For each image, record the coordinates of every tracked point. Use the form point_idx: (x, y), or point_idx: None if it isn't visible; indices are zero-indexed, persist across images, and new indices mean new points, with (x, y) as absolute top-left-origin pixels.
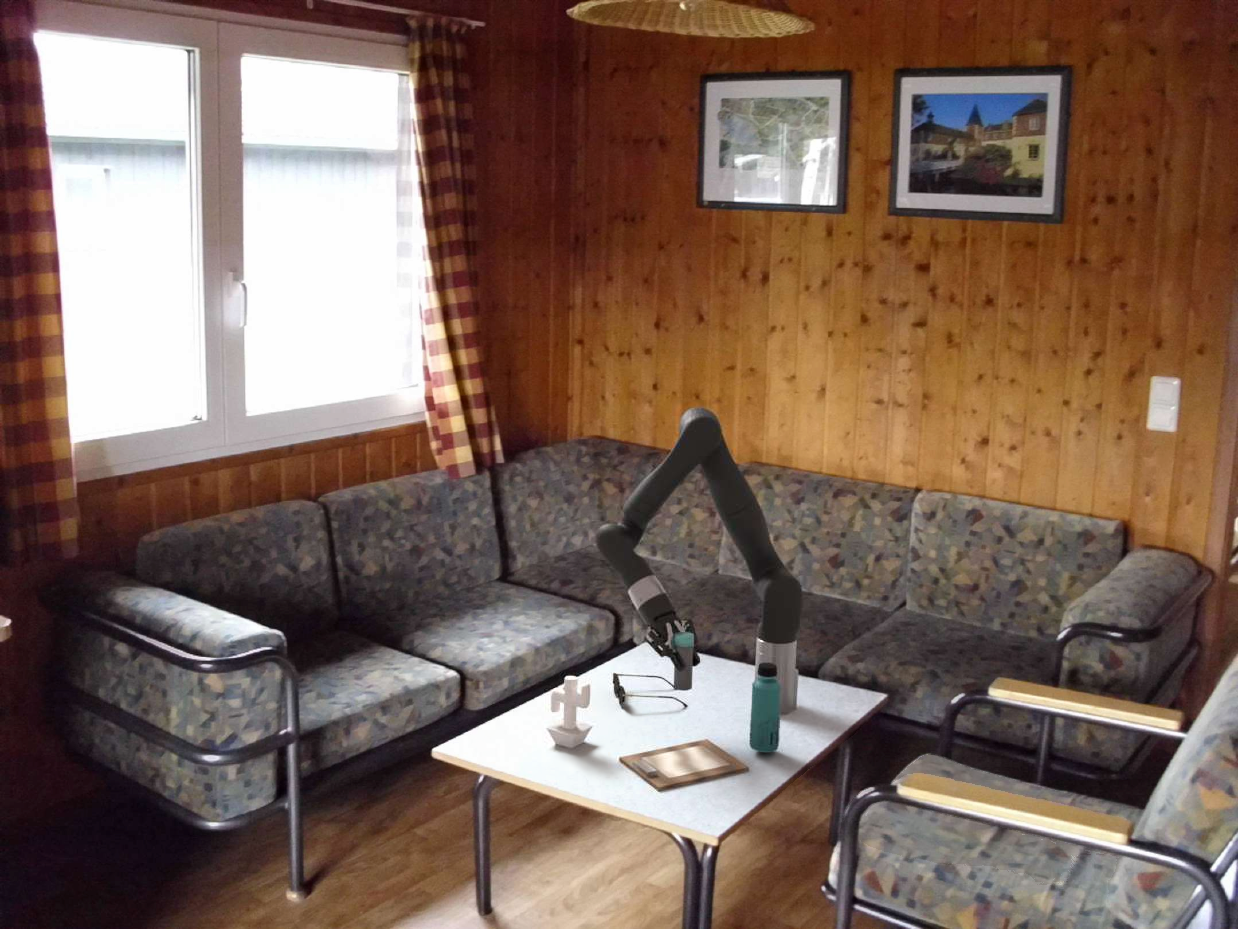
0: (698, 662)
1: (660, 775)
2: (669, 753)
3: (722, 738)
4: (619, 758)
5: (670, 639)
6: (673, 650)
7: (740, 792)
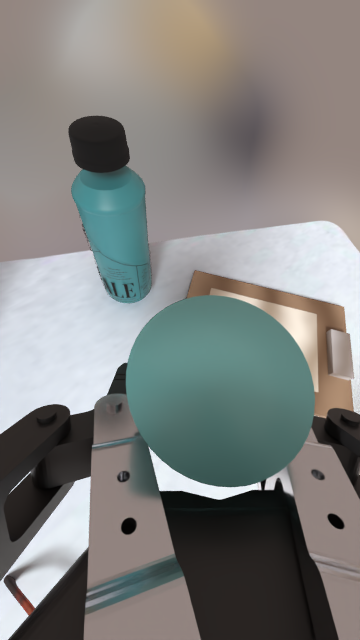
0: None
1: (322, 328)
2: None
3: None
4: None
5: (333, 454)
6: None
7: (248, 249)
